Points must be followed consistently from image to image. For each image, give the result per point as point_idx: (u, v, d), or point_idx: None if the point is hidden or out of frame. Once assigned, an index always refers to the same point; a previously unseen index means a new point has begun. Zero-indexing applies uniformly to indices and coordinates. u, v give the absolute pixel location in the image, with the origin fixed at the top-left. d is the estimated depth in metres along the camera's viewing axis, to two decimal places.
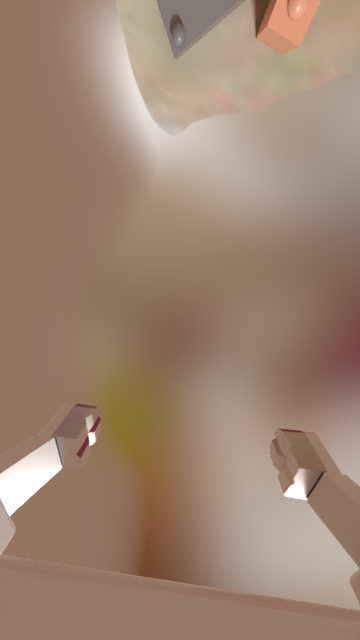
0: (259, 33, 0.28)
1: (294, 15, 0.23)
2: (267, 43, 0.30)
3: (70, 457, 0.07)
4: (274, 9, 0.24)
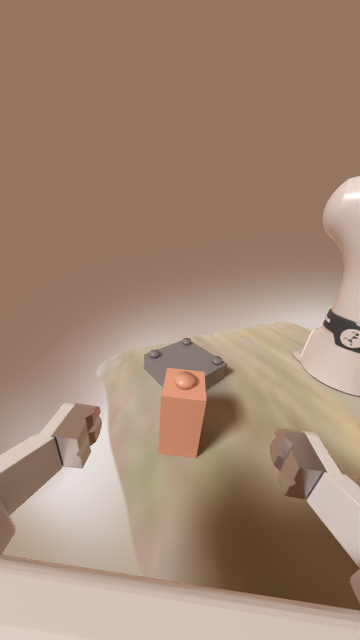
0: None
1: (177, 377, 0.23)
2: None
3: (70, 457, 0.07)
4: (176, 369, 0.25)
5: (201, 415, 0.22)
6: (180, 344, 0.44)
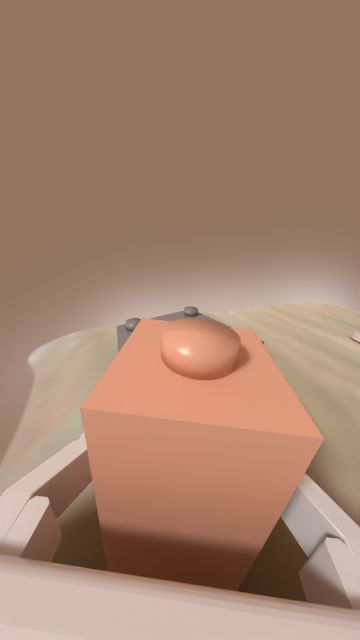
0: None
1: (168, 331, 0.06)
2: None
3: None
4: (168, 322, 0.08)
5: (278, 498, 0.05)
6: (180, 315, 0.27)
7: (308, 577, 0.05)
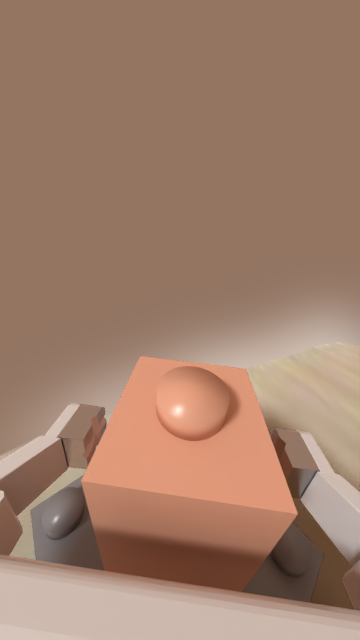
0: None
1: (162, 388, 0.06)
2: None
3: (76, 458, 0.07)
4: (165, 361, 0.09)
5: (260, 551, 0.05)
6: None
7: (355, 584, 0.05)
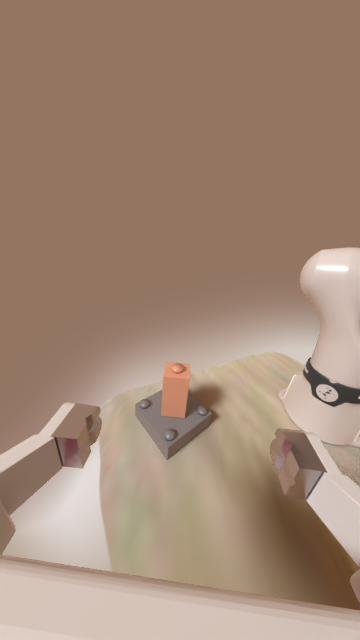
0: None
1: (172, 366, 0.38)
2: None
3: (70, 457, 0.07)
4: (172, 362, 0.40)
5: (187, 388, 0.37)
6: None
7: None
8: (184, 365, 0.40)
